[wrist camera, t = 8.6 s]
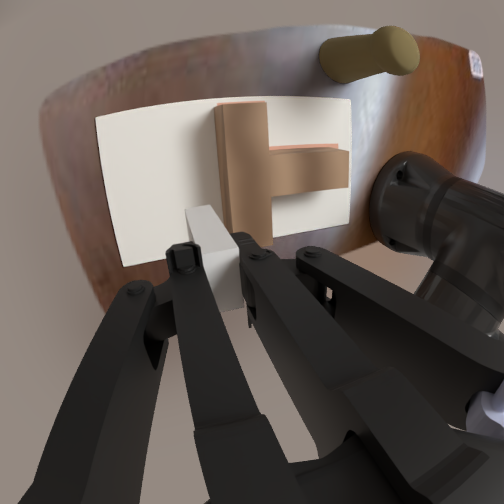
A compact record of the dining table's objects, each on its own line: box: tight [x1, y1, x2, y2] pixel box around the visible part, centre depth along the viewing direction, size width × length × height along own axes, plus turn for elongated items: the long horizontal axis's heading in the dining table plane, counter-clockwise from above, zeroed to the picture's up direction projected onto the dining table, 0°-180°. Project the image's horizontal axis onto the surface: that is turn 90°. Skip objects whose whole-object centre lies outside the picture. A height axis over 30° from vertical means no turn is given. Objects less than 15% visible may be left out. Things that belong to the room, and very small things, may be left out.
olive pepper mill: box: [319, 26, 420, 83], centre depth 23 cm, size 6×6×11 cm
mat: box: [95, 96, 352, 267], centre depth 30 cm, size 28×16×1 cm, turn 94°
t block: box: [214, 102, 349, 247], centre depth 29 cm, size 13×14×4 cm
